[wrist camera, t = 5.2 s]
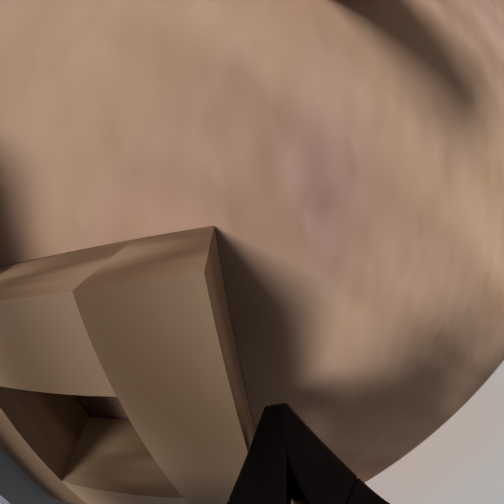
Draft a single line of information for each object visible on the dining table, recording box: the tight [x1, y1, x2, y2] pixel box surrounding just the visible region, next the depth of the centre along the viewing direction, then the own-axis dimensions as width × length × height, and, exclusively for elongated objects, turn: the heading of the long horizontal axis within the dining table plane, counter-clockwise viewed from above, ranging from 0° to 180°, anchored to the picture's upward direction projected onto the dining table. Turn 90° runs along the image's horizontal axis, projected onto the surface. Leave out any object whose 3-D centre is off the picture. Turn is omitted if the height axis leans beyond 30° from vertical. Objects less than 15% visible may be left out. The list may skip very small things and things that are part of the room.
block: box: [0, 226, 255, 504], centre depth 8 cm, size 10×10×4 cm
